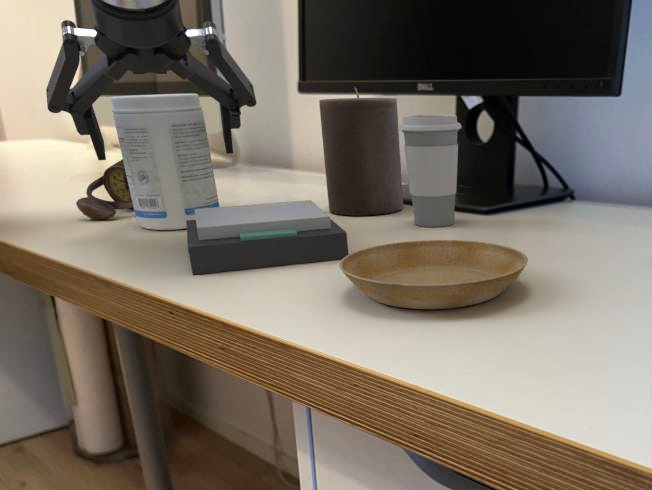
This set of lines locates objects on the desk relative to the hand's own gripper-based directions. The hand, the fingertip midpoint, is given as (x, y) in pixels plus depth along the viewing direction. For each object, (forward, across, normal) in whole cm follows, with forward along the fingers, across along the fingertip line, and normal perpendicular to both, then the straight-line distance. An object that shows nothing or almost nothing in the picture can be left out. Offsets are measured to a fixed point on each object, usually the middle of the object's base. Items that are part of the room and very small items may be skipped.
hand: (166, 147), depth 81 cm
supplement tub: (+7, 0, -6) cm, 9 cm away
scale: (-7, +8, -20) cm, 23 cm away
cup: (-3, +28, -16) cm, 32 cm away
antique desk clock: (+16, -7, +3) cm, 18 cm away
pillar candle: (+6, +23, -7) cm, 25 cm away
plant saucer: (-22, +19, -35) cm, 45 cm away
